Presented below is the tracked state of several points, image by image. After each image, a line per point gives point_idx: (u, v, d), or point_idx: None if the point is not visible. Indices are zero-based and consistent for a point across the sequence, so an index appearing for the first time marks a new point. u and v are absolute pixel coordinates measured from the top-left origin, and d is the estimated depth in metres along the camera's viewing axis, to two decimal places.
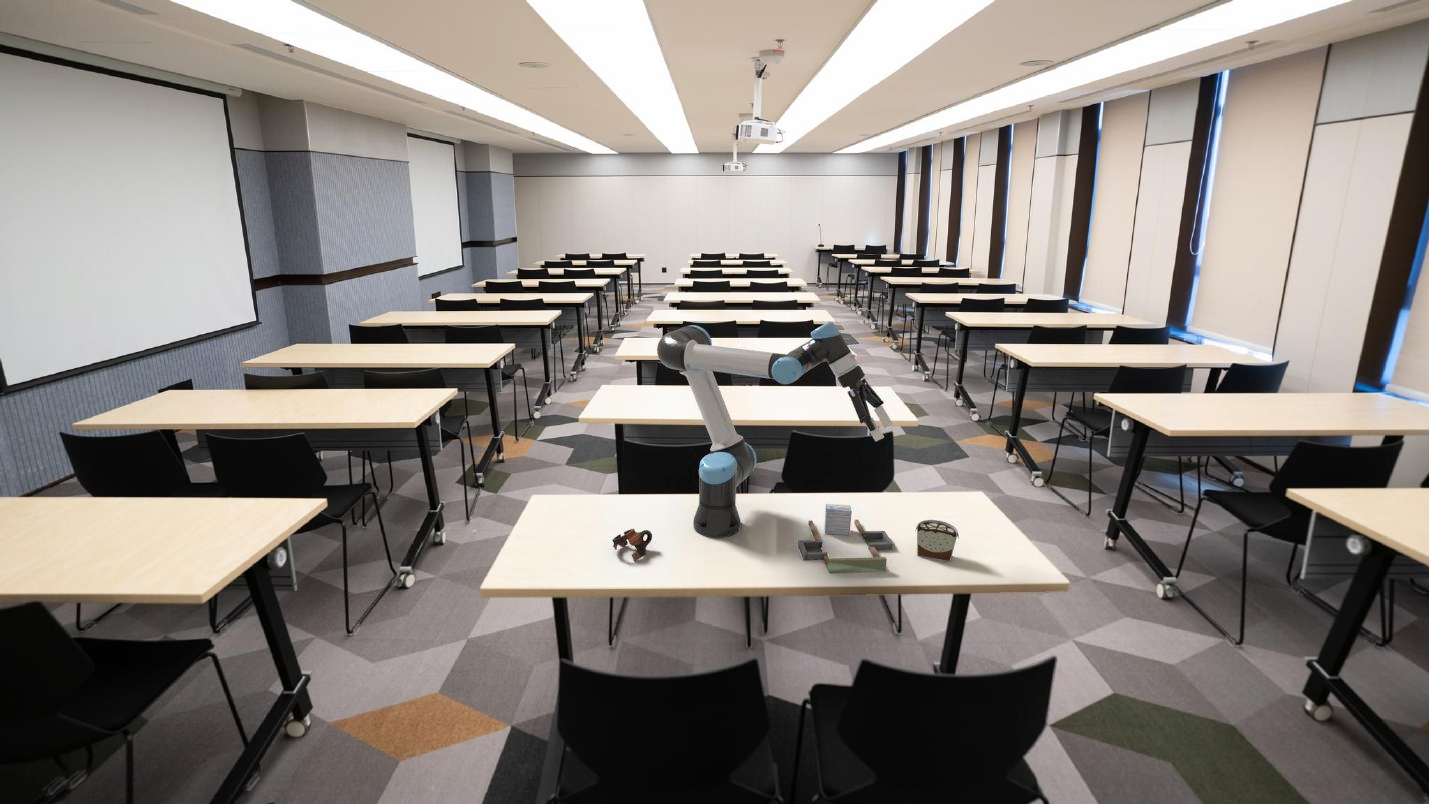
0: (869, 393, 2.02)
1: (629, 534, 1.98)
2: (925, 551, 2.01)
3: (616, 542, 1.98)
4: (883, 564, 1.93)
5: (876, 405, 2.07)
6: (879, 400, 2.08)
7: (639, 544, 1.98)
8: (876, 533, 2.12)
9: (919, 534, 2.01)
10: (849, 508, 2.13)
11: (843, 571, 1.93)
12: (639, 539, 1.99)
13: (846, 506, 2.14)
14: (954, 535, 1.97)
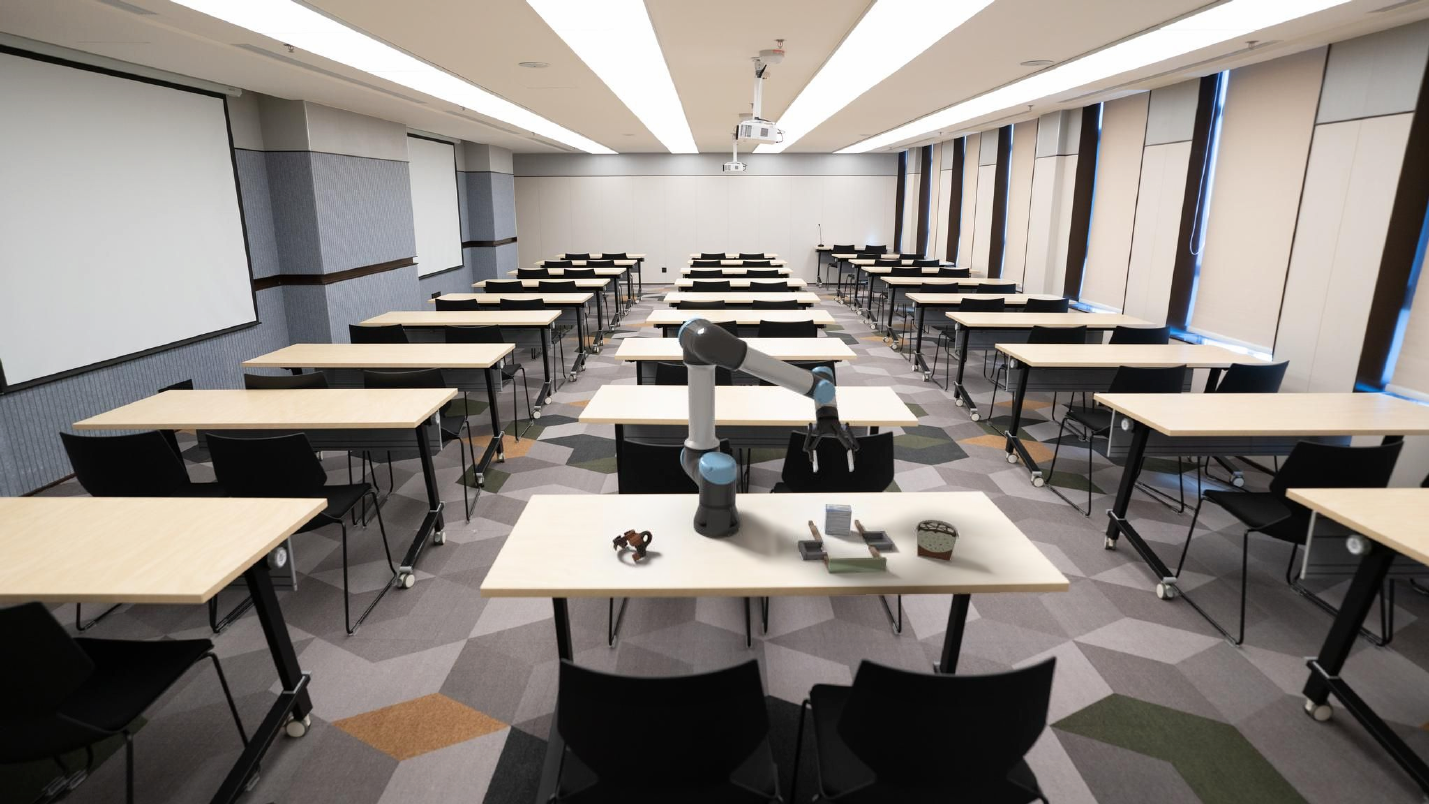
0: None
1: (629, 535, 1.98)
2: (925, 551, 2.01)
3: (616, 543, 1.98)
4: (883, 564, 1.93)
5: None
6: None
7: (639, 545, 1.98)
8: (876, 533, 2.12)
9: (919, 534, 2.01)
10: (849, 508, 2.13)
11: (843, 571, 1.93)
12: (639, 540, 1.99)
13: (846, 506, 2.14)
14: (954, 535, 1.97)
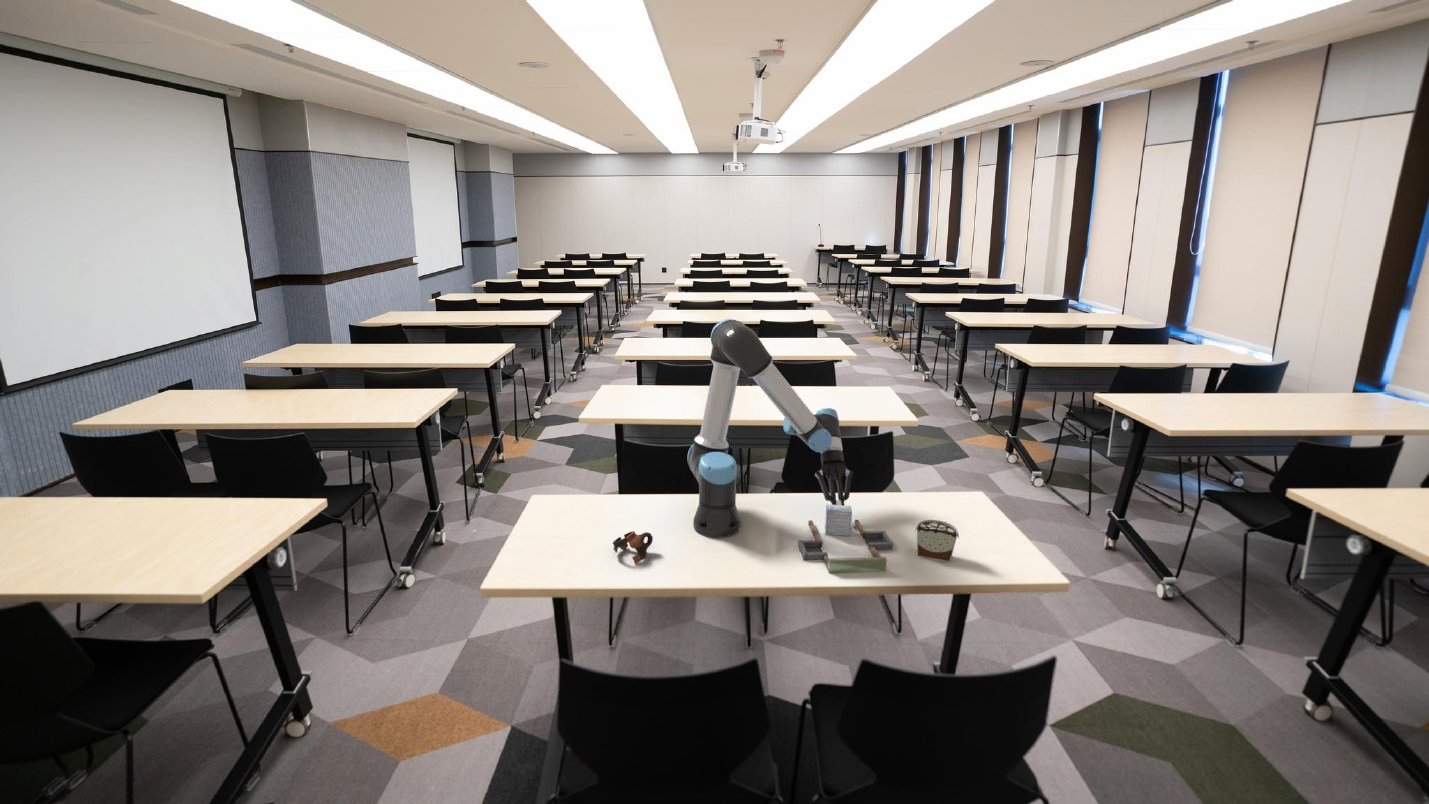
0: None
1: (630, 537, 1.97)
2: (925, 551, 2.01)
3: (617, 545, 1.97)
4: (883, 564, 1.93)
5: None
6: None
7: (640, 547, 1.97)
8: (876, 533, 2.12)
9: (919, 534, 2.01)
10: (850, 509, 2.12)
11: (843, 571, 1.93)
12: (640, 542, 1.98)
13: (847, 507, 2.14)
14: (954, 535, 1.97)
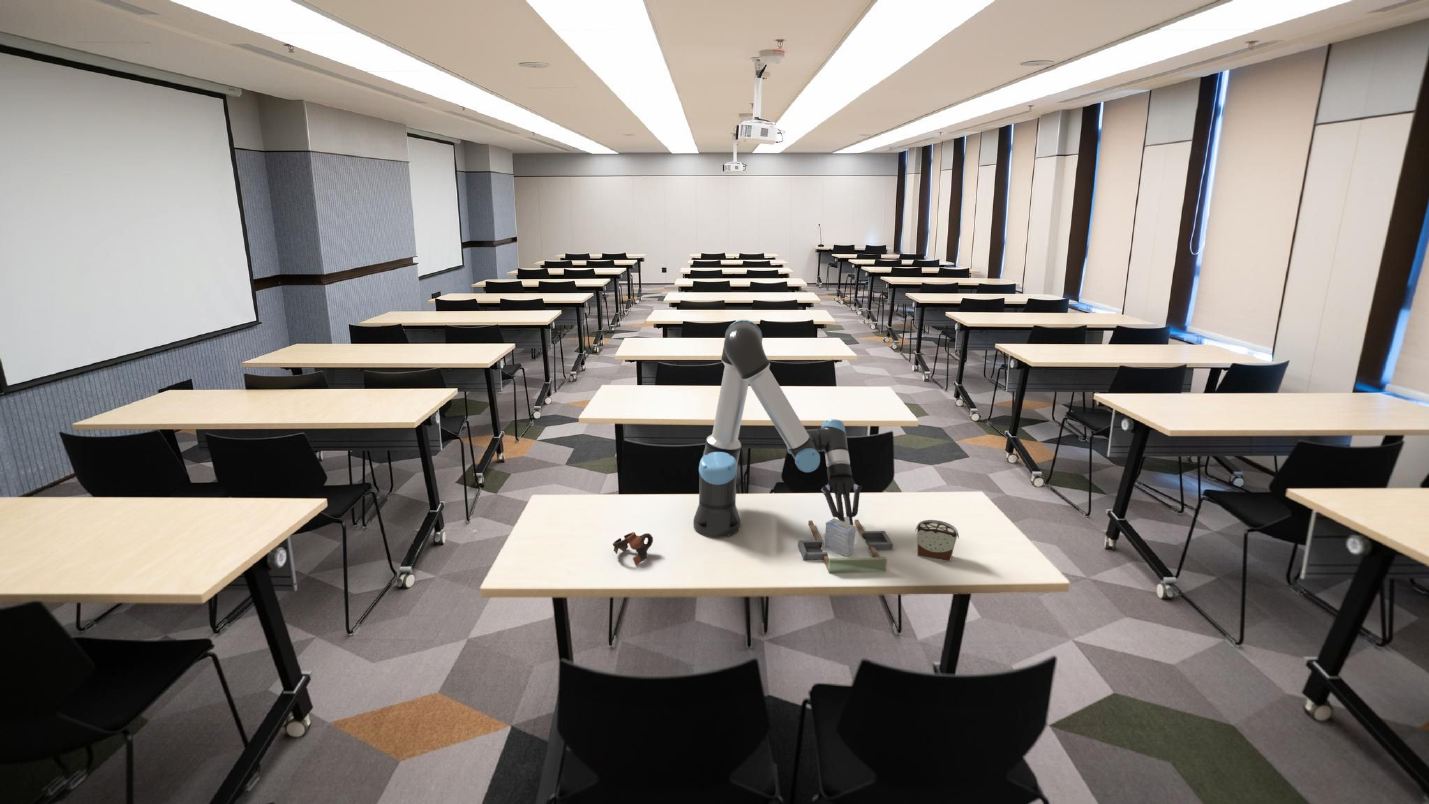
0: None
1: (630, 538, 1.96)
2: (925, 551, 2.01)
3: (617, 546, 1.96)
4: (883, 564, 1.93)
5: None
6: None
7: (640, 548, 1.96)
8: (876, 533, 2.12)
9: (919, 534, 2.01)
10: (849, 528, 2.00)
11: (843, 571, 1.93)
12: (640, 543, 1.97)
13: (849, 526, 2.02)
14: (954, 535, 1.97)
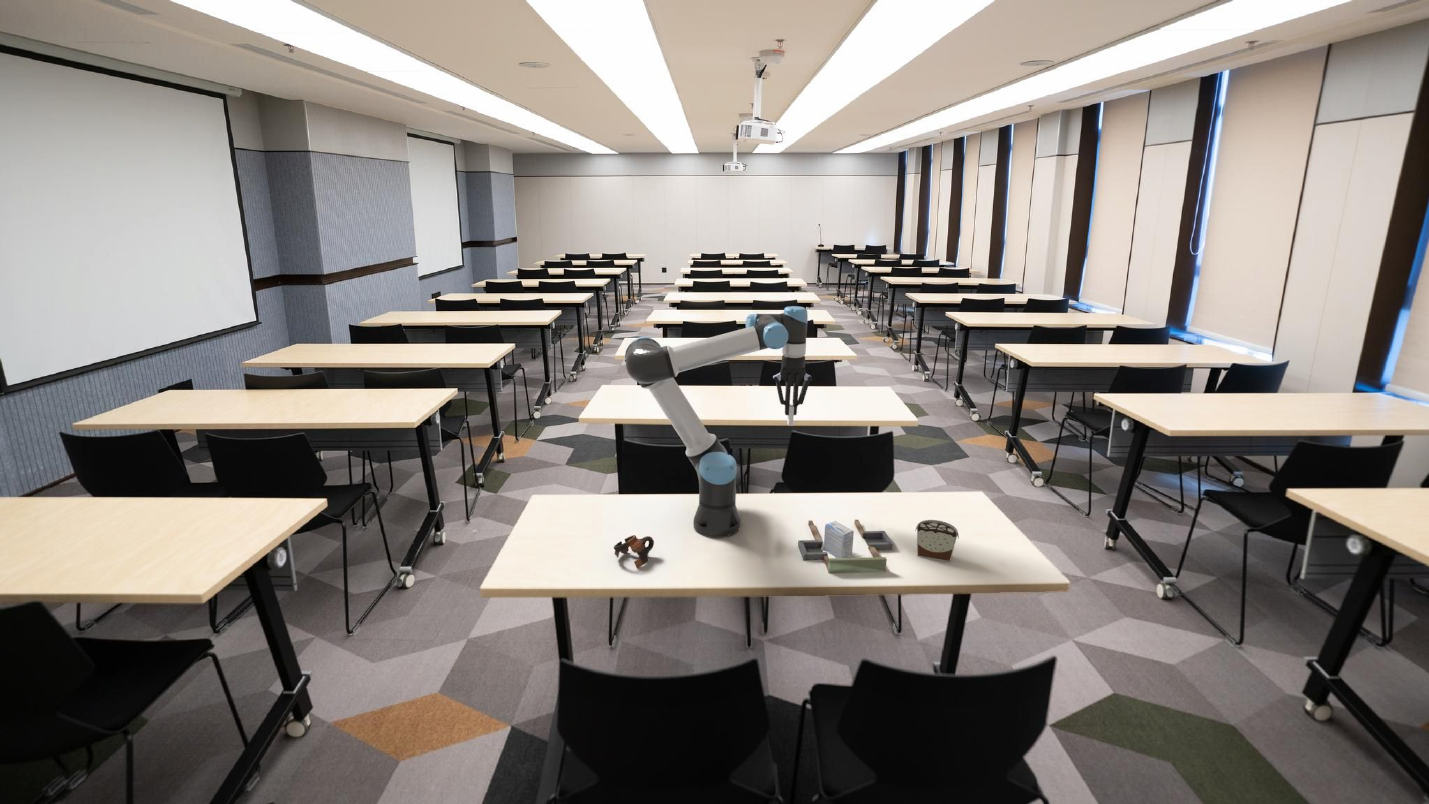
0: None
1: (631, 541, 1.95)
2: (925, 551, 2.01)
3: (618, 549, 1.94)
4: (883, 564, 1.93)
5: None
6: None
7: (641, 551, 1.95)
8: (876, 533, 2.12)
9: (919, 534, 2.01)
10: (846, 532, 1.98)
11: (843, 571, 1.93)
12: (641, 546, 1.95)
13: (847, 529, 1.99)
14: (954, 535, 1.97)
